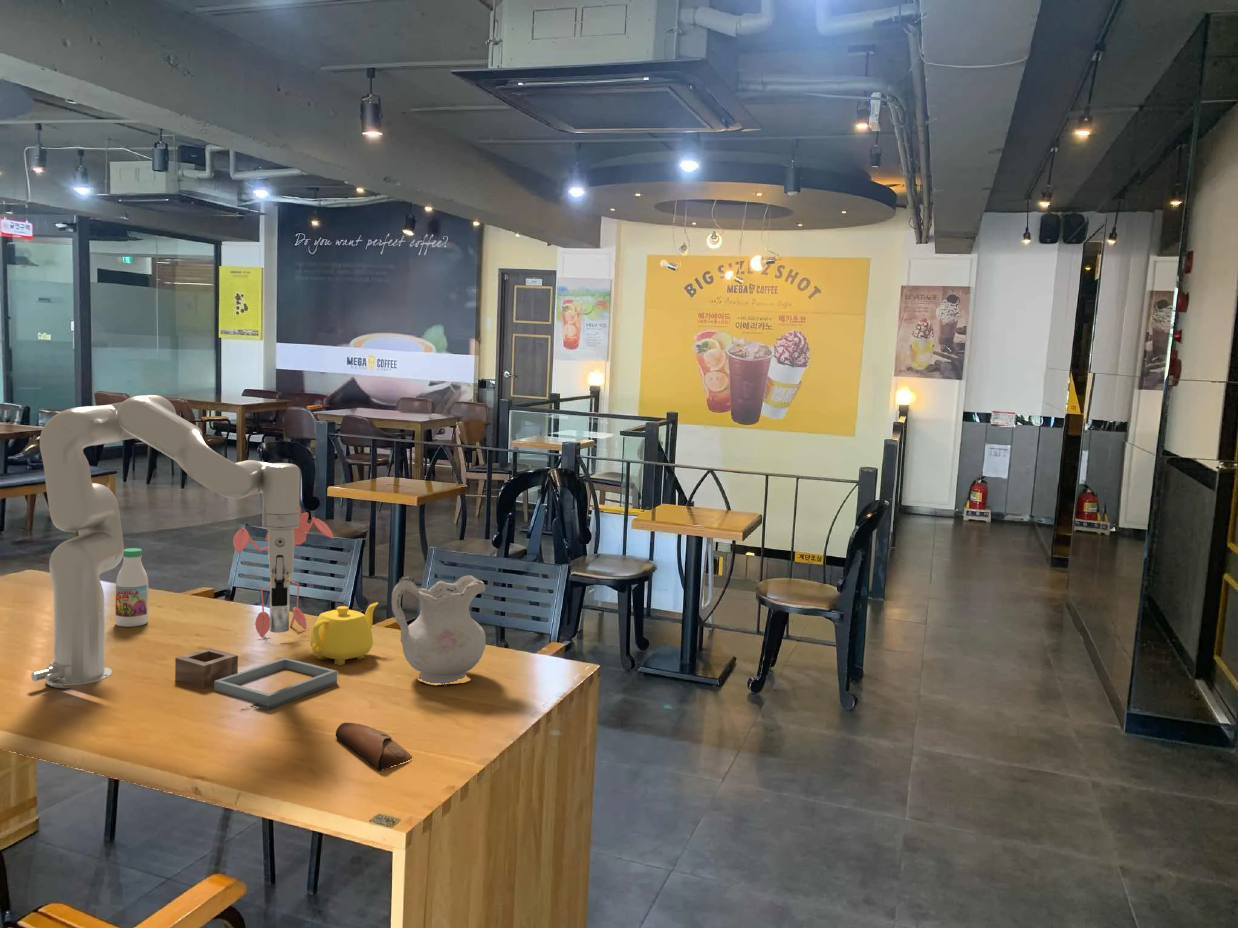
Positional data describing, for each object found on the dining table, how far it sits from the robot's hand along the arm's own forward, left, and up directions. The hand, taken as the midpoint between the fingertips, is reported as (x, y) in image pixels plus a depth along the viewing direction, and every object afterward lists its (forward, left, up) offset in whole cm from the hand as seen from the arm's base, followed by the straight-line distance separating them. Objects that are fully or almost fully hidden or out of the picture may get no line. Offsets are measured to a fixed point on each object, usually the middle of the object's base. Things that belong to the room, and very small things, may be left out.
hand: (279, 602), depth 205 cm
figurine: (+30, +28, -20) cm, 46 cm away
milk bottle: (+14, +67, -20) cm, 71 cm away
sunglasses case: (-13, -39, -20) cm, 46 cm away
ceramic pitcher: (+26, -24, -20) cm, 40 cm away
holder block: (-6, +15, -20) cm, 25 cm away
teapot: (+26, +4, -20) cm, 33 cm away
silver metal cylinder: (0, 0, -6) cm, 6 cm away
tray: (0, 0, -20) cm, 20 cm away
